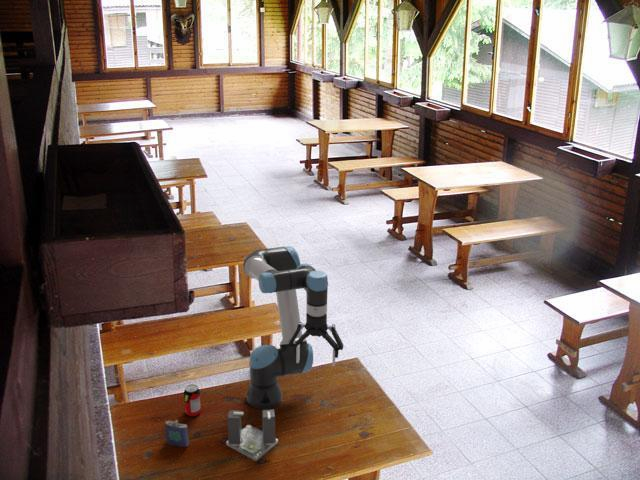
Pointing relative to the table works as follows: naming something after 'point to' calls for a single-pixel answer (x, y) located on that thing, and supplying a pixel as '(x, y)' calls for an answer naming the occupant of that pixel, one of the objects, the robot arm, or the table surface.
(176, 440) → the flask
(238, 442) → the grey upright post
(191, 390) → the beverage can
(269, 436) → the grey tall block
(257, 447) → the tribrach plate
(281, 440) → the table surface
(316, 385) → the table surface
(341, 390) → the table surface
